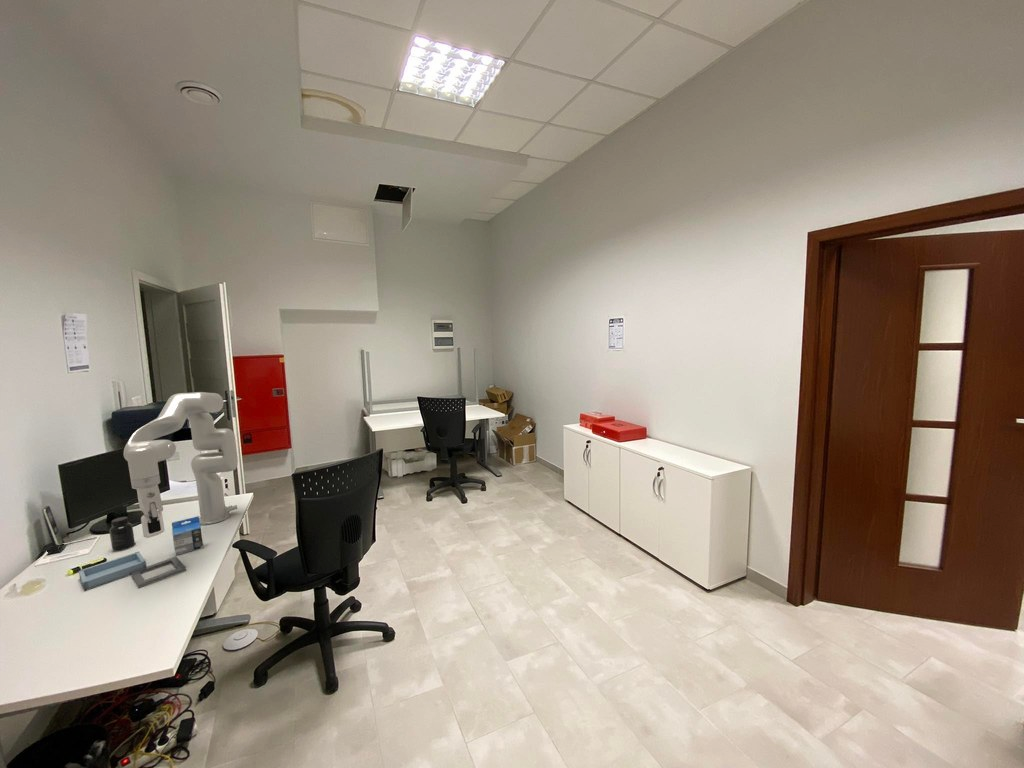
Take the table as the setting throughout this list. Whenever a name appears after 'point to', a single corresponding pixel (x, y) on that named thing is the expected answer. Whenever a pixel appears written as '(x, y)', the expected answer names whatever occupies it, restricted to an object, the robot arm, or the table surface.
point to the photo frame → (67, 555)
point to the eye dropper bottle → (145, 526)
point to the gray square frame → (141, 582)
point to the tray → (111, 570)
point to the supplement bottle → (121, 534)
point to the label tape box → (187, 535)
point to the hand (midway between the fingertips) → (153, 529)
